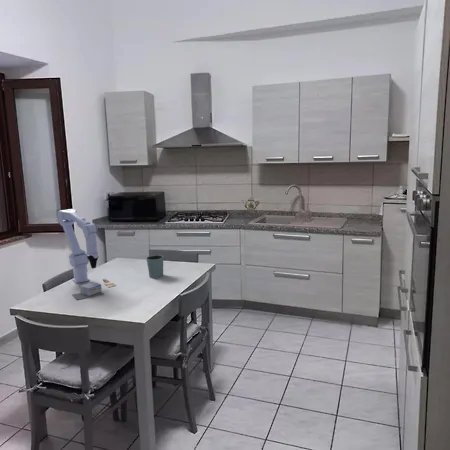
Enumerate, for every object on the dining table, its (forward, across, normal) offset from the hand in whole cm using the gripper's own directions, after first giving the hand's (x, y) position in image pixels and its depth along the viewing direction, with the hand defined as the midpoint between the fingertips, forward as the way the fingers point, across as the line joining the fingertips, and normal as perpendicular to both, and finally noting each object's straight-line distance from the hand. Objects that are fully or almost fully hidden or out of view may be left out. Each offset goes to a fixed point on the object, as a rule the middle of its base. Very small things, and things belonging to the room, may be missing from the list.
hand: (93, 267), depth 231 cm
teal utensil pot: (+11, +7, +35) cm, 37 cm away
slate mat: (+10, +13, -8) cm, 19 cm away
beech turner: (+10, +1, +7) cm, 13 cm away
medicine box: (+8, +8, -7) cm, 13 cm away
